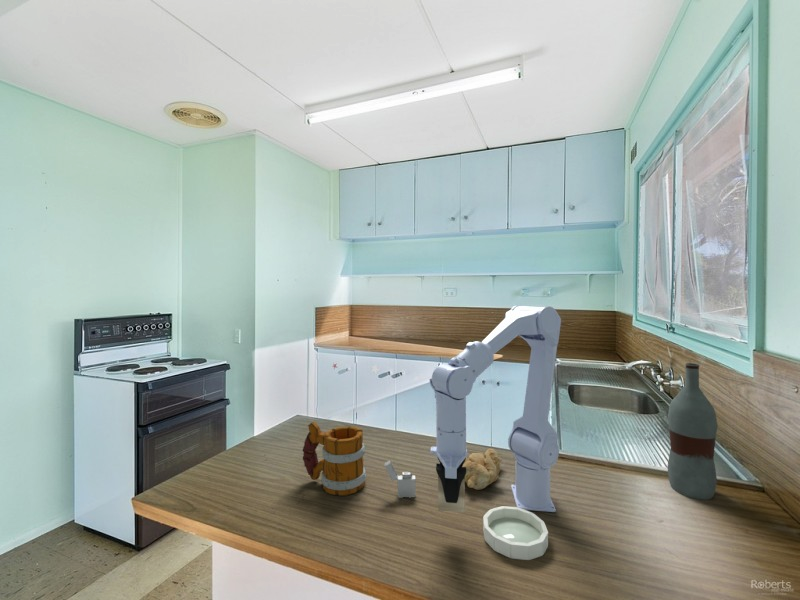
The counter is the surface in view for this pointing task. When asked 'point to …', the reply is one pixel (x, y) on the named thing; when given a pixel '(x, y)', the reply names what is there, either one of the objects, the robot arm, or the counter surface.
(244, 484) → the counter surface
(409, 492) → the lighter
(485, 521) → the dish
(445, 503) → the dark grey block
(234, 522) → the counter surface
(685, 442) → the bottle
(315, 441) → the mug
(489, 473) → the ginger root
